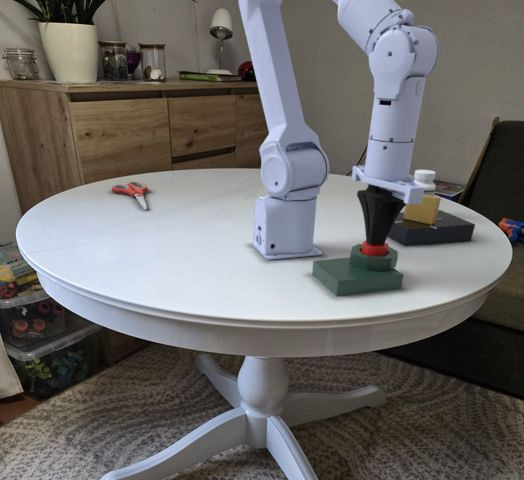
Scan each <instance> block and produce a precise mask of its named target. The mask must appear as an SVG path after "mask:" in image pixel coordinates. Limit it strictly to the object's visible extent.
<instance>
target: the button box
mask: <svg viewBox="0 0 524 480" xmlns="http://www.w3.org/2000/svg"><path fill="white" fill-rule="evenodd" d="M361 250H362V243H358V244H356V245H354V246H351V249H350V257H339V258H328V259H319V260H313V261H312V272H311V274H312V276H313V277H314V278H315V279H316V280H318V282H320V283H321V284H322V285H323V287H325V288H327V290H329V292H331V293H332V294H333V295H334V296H335V297H342V296H344V297H345V296H350V295H351V296H353V295H359V294H367V293H369V294H370V293H377V292H386V291H392V290H402V286H403V280H404V276H405V275H404V273H402V272H401V271H399V270H398V269H396V267H397V263H398V258H399V253H398V250H396V249H394V248H392V247H391V246H388V251H387V255H386V256H371V255H367V254H363V253H362V252H361Z"/></svg>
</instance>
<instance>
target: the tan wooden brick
mask: <svg viewBox="0 0 524 480" xmlns="http://www.w3.org/2000/svg"><path fill="white" fill-rule="evenodd" d="M441 200H442V197H441V196H435V195H434V196H431V195H425V194H423V199H422V204H406V206H404V210H405V212H404V211H403V212H404V219H408V220H412V221H417V222H421V223H426V224H430V225H432V224H435V223H436V219H437V214H438V210H440V205H441Z"/></svg>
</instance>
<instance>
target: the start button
mask: <svg viewBox="0 0 524 480" xmlns="http://www.w3.org/2000/svg"><path fill="white" fill-rule="evenodd" d="M361 244H362V250H361V252H362V253H363V254H367V255H371V256H386V255H387V251H388V247H389V243H388V242H386V241H385V243H384V245H374V246H371V245H370V244H368V243H367V241H366V240H364V241H362V243H361Z"/></svg>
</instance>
